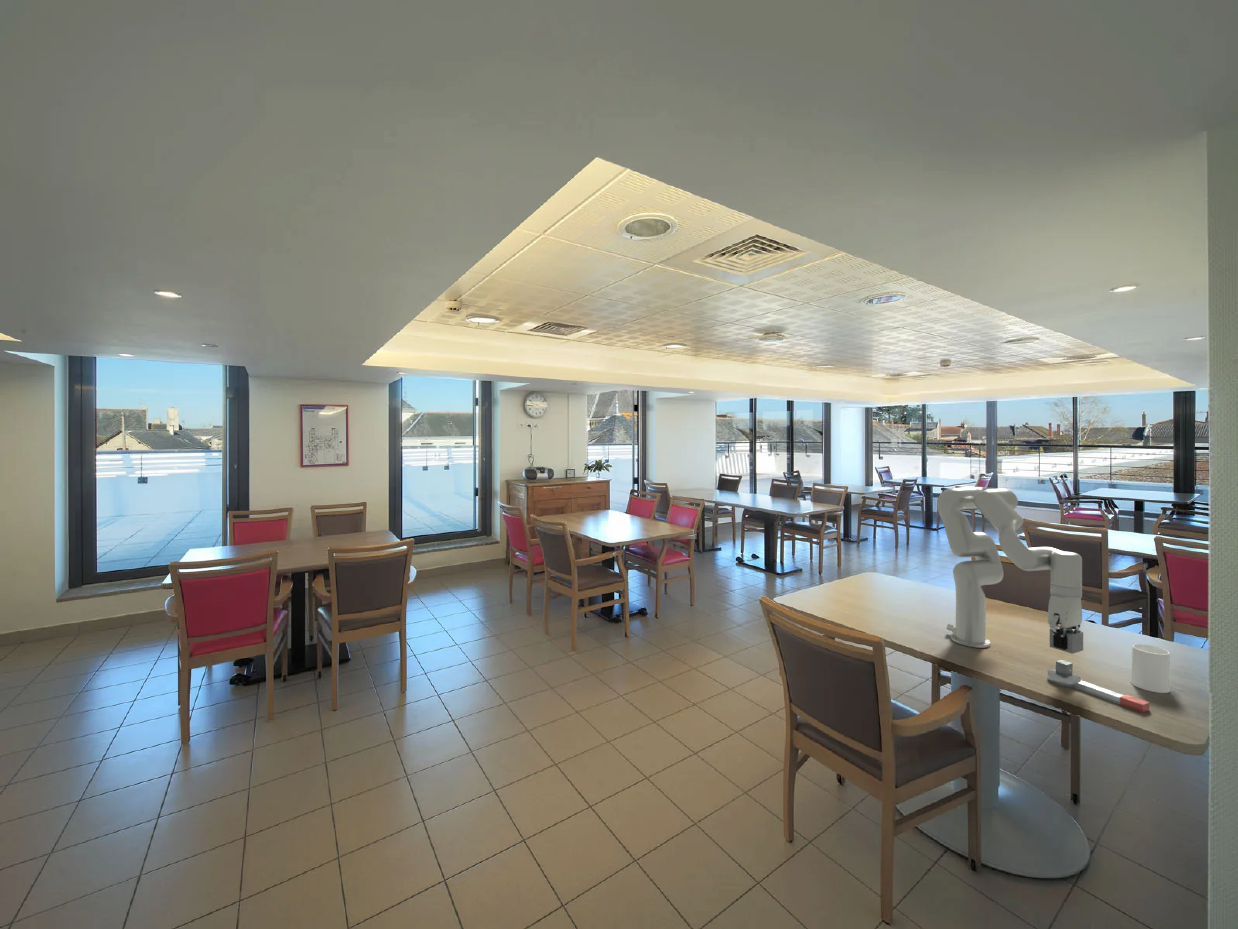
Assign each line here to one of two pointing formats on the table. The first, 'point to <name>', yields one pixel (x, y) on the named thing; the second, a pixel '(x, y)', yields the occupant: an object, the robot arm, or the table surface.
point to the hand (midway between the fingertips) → (1066, 646)
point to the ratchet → (1092, 687)
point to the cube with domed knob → (1070, 640)
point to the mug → (1150, 668)
